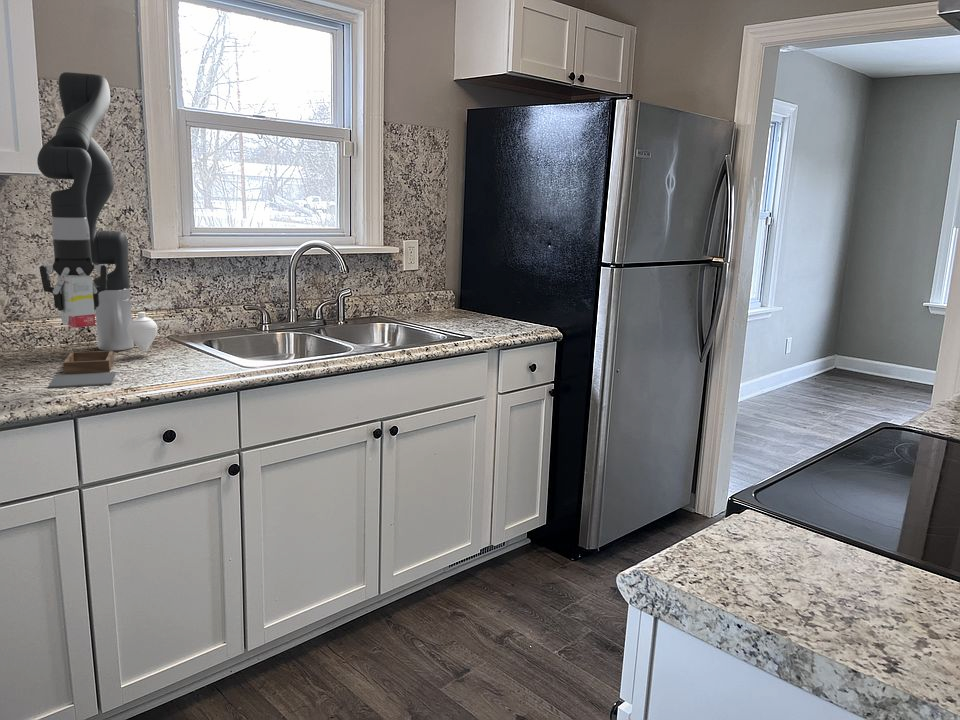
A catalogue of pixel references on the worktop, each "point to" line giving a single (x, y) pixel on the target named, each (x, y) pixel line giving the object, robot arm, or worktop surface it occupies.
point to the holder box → (88, 362)
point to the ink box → (77, 301)
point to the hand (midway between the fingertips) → (77, 309)
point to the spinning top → (142, 331)
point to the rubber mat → (82, 379)
